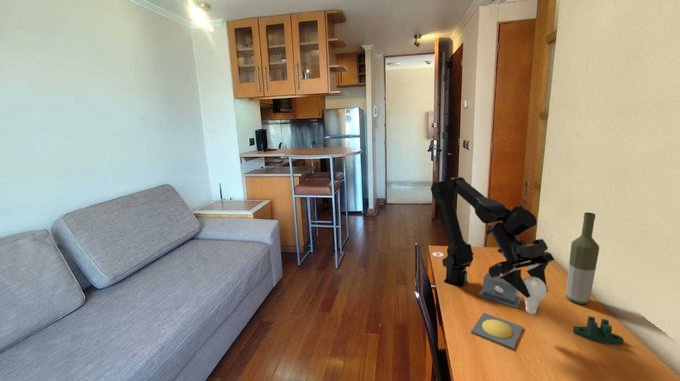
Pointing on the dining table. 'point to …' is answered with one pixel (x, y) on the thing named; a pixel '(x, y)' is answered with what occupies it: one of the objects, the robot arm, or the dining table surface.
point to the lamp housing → (500, 291)
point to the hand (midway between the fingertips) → (537, 294)
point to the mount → (598, 332)
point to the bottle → (582, 263)
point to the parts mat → (497, 330)
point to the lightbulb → (534, 293)
